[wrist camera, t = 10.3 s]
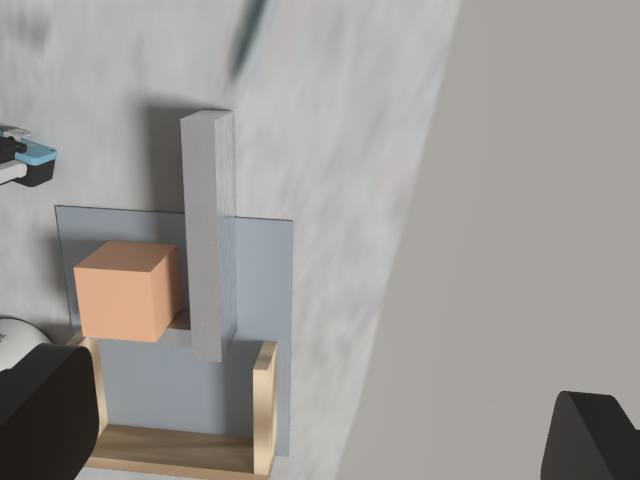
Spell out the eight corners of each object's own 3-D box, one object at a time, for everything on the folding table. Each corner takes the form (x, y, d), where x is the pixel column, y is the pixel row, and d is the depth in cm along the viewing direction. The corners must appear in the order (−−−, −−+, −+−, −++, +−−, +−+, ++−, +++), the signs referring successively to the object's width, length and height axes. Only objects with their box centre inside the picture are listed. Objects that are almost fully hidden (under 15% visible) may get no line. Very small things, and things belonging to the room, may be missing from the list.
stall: (85, 324, 43) (57, 352, 39) (277, 340, 42) (267, 370, 38) (98, 431, 46) (74, 465, 43) (276, 448, 45) (267, 485, 41)
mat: (57, 205, 40) (55, 206, 40) (293, 220, 38) (292, 221, 38) (87, 434, 47) (86, 436, 46) (288, 454, 45) (288, 456, 45)
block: (109, 240, 40) (73, 267, 35) (177, 244, 40) (149, 272, 35) (116, 303, 42) (82, 336, 37) (181, 307, 41) (155, 342, 37)
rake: (84, 103, 37) (47, 112, 33) (233, 111, 36) (214, 120, 32) (108, 319, 42) (78, 349, 38) (237, 329, 41) (221, 362, 37)
